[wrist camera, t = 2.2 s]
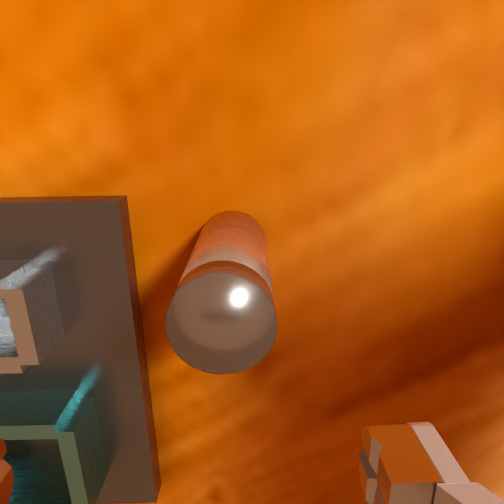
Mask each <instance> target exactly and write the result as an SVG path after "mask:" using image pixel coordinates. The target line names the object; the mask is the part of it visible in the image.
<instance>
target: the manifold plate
mask: <svg viewBox="0 0 504 504" xmlns="http://www.w3.org/2000/svg"><path fill="white" fill-rule="evenodd" d="M0 438H2V439H4V442H5V445H6V448H7V452H6V454H5V456H4V457H3V460H5V461H6V462H7V463H8V464H9V465H10V466H12V470H13V474H14V486H13V490H12V493H11V496H10V499H9V502H8V504H96V503H147V502H157V499H158V495H159V490H160V486H161V479H160V471H159V463H158V454H157V446H156V438H155V429H154V421H153V413H152V404H151V396H150V388H149V379H148V371H147V362H146V354H145V346H144V337H143V329H142V321H141V312H140V304H139V296H138V287H137V279H136V271H135V262H134V254H133V246H132V237H131V229H130V221H129V212H128V204H127V196H73V197H13V198H0Z"/></svg>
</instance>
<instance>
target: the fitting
mask: <svg viewBox="0 0 504 504" xmlns="http://www.w3.org/2000/svg"><path fill="white" fill-rule="evenodd" d="M165 329H166V335H167V338H168V341H169V343H170V345H171V347H172V348H173V350H174V351H175V353H176V354H177V355H178V356H179V357H180V358H181V359H182V360H183V361H184V362H186V363H187V364H189V365H190V366H192V367H194V368H196V369H198V370H201V371H204V372H207V373H213V374H232V373H237V372H240V371H244V370H246V369H248V368H250V367H252V366H254V365H255V364H257V363H258V362H259V361H261V360H262V359H263V358H264V357H265V356H266V354H267V353H268V352H269V350H270V349H271V347H272V345H273V342H274V340H275V336H276V331H277V321H276V313H275V306H274V299H273V291H272V284H271V277H270V270H269V262H268V255H267V248H266V241H265V235H264V232H263V230H262V228H261V226H260V225H259V223H258V222H257V221H256V220H255V219H254V218H252V217H251V216H249V215H247V214H245V213H242V212H238V211H225V212H221V213H218V214H216V215H214V216H213V217H212V218H210V219H209V220H208V221H207V222H206V223H205V225H204V226H203V228H202V230H201V232H200V235H199V237H198V239H197V242H196V244H195V246H194V249H193V251H192V253H191V256H190V258H189V260H188V263H187V265H186V267H185V270H184V272H183V274H182V277H181V279H180V281H179V284H178V286H177V288H176V291H175V293H174V295H173V298H172V300H171V302H170V305H169V307H168V310H167V313H166V319H165Z"/></svg>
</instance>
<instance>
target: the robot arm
mask: <svg viewBox="0 0 504 504" xmlns="http://www.w3.org/2000/svg"><path fill="white" fill-rule="evenodd" d="M360 439H361V442H362V444H363V447H364V449H363V450H362V451H361V453H360V454H359V463H358V468H359V479H360V484H361V488H362V492H363V495H364V498H365V501H366V502H367V503H369V504H504V500H503V499H502V498H500V497H499V496H497V495H496V494H494V493H493V492H491V491H490V490H488V489H487V488H485V487H484V486H482V485H481V484H480V483H478V482H470V481H469V479H468V478H467V476H466V475H465V473H464V472H463V470H462V469H461V467H460V466H459V464H458V463H457V461H456V459H455V458H454V456H453V455H452V453H451V452H450V450H449V449H448V447H447V446H446V444H445V443H444V441H443V440H442V438H441V437H440V435H439V434H438V432H437V430H436V429H435V427H434V426H433V425H432V424H431V423H430V422H411V423H394V424H371V425H363V427H362V429H361V437H360ZM6 452H7V448H6V445H5V442H4V439H2V438H0V504H8V502H9V499H10V496H11V493H12V490H13V486H14V474H13V470H12V466H10V465H9V464H8V463H7V462H6V461H5V460H3V457H4V456H5V454H6Z"/></svg>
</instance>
